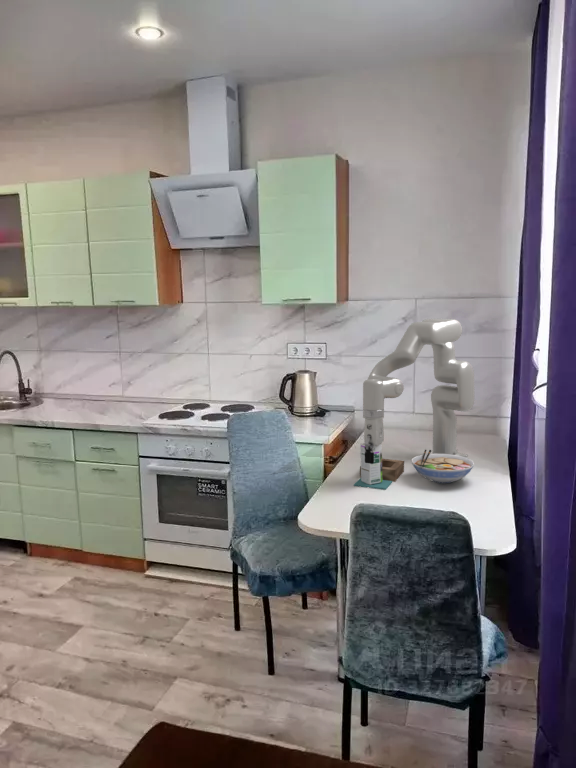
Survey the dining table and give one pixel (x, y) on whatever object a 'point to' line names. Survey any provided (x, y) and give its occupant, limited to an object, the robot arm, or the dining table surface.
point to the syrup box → (371, 466)
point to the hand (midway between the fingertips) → (373, 459)
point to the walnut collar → (391, 469)
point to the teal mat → (382, 485)
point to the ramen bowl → (442, 466)
